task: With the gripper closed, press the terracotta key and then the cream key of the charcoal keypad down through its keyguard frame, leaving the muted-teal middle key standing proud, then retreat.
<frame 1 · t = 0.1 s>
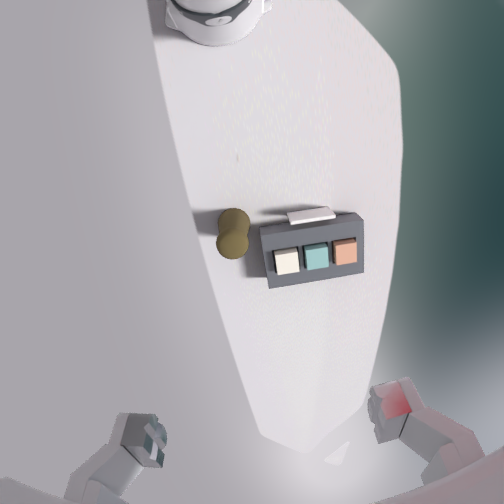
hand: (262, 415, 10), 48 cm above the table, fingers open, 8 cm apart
keypad: (311, 245, 60), on the table
cork: (234, 223, 58), on the table
teal key: (315, 255, 56), point 4 cm above the table, slide at 0.0 cm
terracotta key: (344, 250, 56), point 4 cm above the table, slide at 0.0 cm
cream key: (286, 259, 56), point 4 cm above the table, slide at 0.0 cm
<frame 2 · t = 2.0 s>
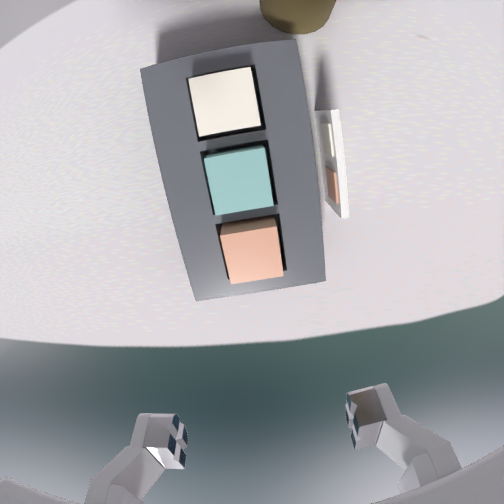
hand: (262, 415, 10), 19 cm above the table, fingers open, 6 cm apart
keypad: (240, 168, 25), on the table
cork: (295, 5, 19), on the table
teal key: (239, 177, 21), point 4 cm above the table, slide at 0.0 cm
terracotta key: (252, 248, 24), point 4 cm above the table, slide at 0.0 cm
cream key: (225, 102, 19), point 4 cm above the table, slide at 0.0 cm
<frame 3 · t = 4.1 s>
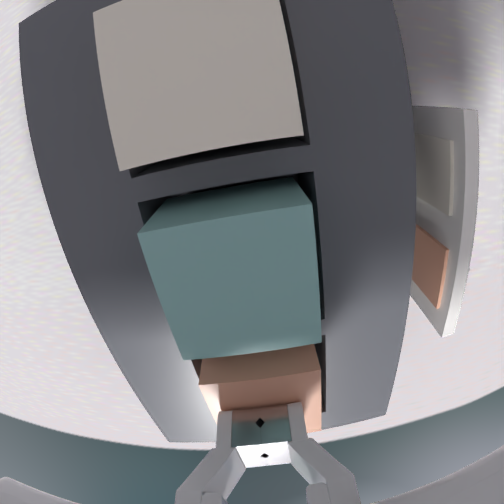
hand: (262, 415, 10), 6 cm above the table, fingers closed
keypad: (240, 218, 13), on the table
teal key: (238, 266, 9), point 4 cm above the table, slide at 0.0 cm
terracotta key: (264, 383, 11), point 4 cm above the table, slide at 0.3 cm, touching gripper
cream key: (200, 69, 7), point 4 cm above the table, slide at 0.0 cm
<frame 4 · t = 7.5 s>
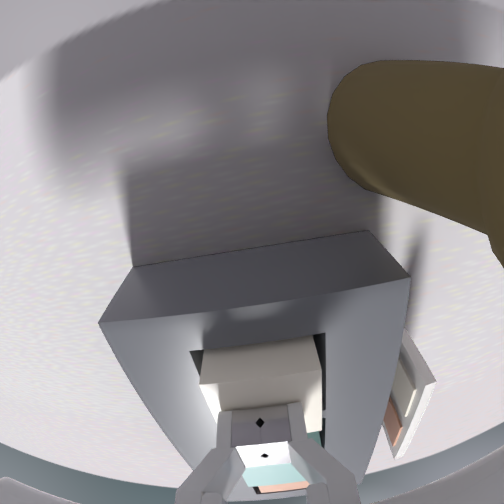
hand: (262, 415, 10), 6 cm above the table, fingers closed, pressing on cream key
keypad: (274, 389, 17), on the table
cork: (391, 128, 11), on the table
teal key: (279, 447, 14), point 4 cm above the table, slide at 0.0 cm
terracotta key: (285, 463, 17), point 3 cm above the table, slide at 1.5 cm
cream key: (265, 383, 11), point 4 cm above the table, slide at 0.2 cm, touching gripper
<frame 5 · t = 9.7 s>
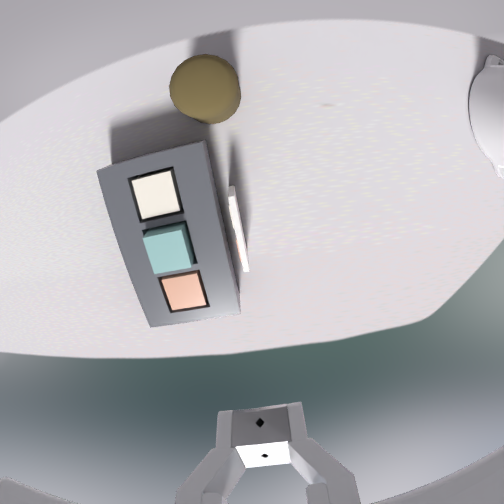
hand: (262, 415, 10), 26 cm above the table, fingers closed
keypad: (176, 232, 35), on the table
cork: (212, 96, 29), on the table
teal key: (169, 246, 31), point 4 cm above the table, slide at 0.0 cm
terracotta key: (185, 285, 34), point 3 cm above the table, slide at 1.5 cm
cream key: (158, 192, 30), point 3 cm above the table, slide at 1.5 cm
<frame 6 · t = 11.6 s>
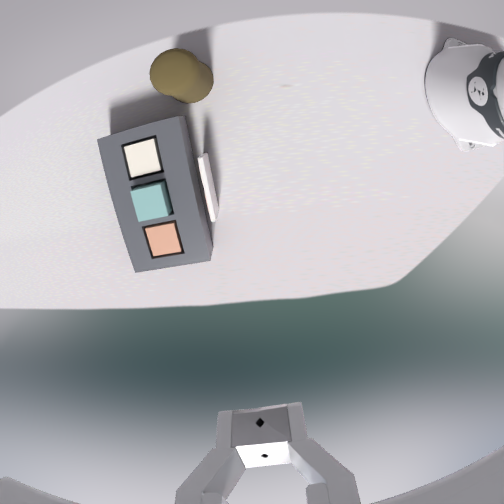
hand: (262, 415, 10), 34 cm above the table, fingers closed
keypad: (160, 191, 41), on the table
cork: (190, 81, 35), on the table
teal key: (152, 200, 37), point 4 cm above the table, slide at 0.0 cm
terracotta key: (165, 235, 40), point 3 cm above the table, slide at 1.5 cm
cream key: (145, 156, 36), point 3 cm above the table, slide at 1.5 cm
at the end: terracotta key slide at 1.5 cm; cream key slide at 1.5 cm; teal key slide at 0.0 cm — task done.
